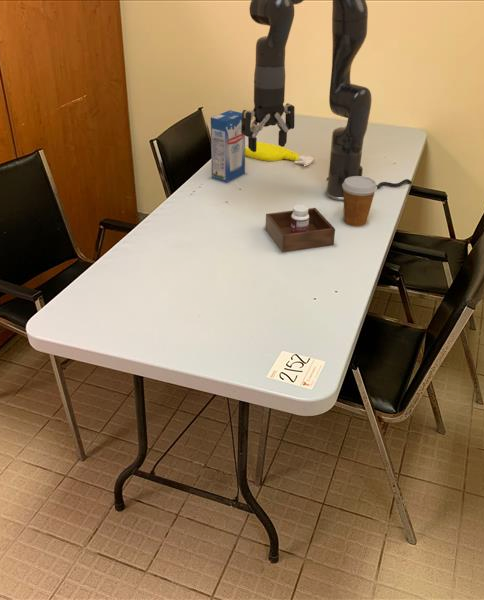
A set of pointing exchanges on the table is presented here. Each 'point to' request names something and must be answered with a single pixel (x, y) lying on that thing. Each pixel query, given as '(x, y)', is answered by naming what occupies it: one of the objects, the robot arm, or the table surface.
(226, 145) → the milk carton
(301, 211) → the pill bottle
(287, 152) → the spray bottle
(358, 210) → the disposable coffee cup
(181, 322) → the table surface
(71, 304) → the table surface
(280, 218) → the wooden box
